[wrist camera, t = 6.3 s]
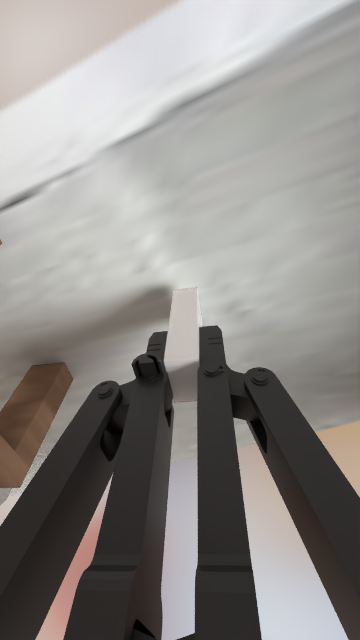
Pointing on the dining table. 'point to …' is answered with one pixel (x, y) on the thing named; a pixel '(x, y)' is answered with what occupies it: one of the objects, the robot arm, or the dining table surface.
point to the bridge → (29, 419)
